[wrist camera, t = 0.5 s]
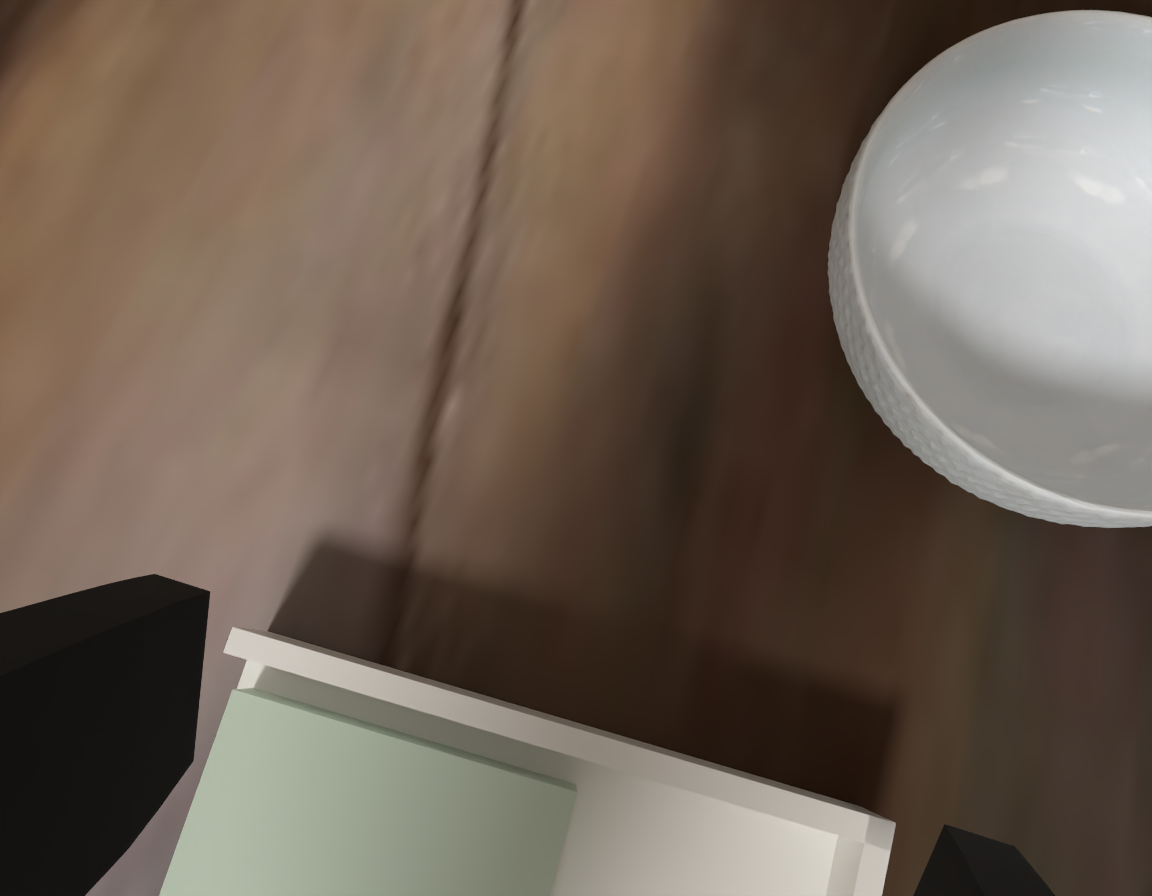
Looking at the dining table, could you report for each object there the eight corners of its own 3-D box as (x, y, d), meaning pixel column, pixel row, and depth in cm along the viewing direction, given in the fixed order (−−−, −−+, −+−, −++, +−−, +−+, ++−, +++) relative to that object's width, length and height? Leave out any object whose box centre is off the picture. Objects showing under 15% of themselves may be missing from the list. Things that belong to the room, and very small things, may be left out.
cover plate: (503, 1051, 29) (499, 1079, 27) (162, 944, 29) (134, 964, 27) (576, 784, 31) (576, 792, 29) (252, 687, 31) (232, 689, 29)
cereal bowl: (788, 533, 34) (847, 499, 27) (793, 113, 37) (847, -12, 30) (1265, 564, 34) (1447, 538, 27) (1223, 141, 37) (1373, 23, 30)
